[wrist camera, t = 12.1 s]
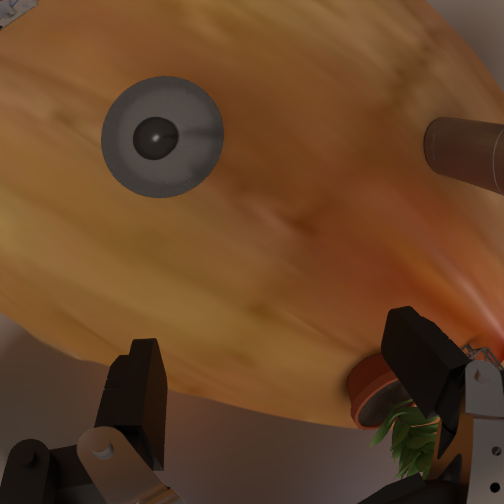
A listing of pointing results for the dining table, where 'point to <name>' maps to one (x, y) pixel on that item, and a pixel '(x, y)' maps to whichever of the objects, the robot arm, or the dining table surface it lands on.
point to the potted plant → (391, 415)
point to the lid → (162, 137)
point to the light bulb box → (14, 10)
